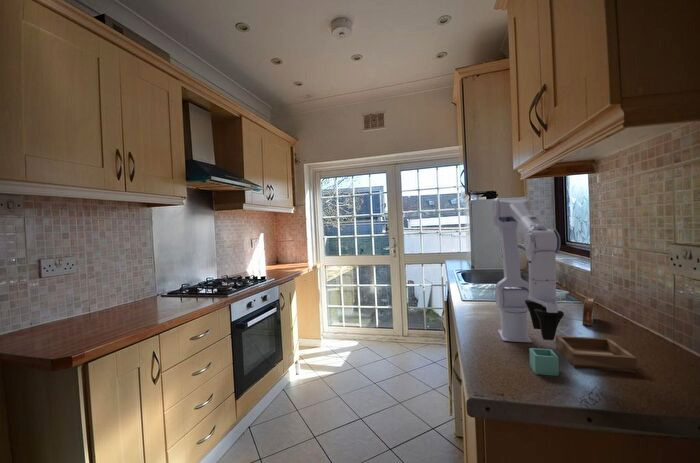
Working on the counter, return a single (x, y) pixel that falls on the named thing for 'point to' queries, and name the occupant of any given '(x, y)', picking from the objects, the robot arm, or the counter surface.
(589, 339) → the big crate
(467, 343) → the counter surface
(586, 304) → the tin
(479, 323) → the counter surface
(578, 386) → the counter surface
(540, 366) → the small crate
